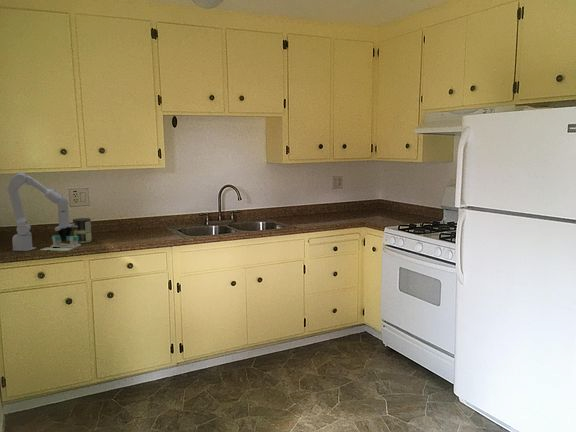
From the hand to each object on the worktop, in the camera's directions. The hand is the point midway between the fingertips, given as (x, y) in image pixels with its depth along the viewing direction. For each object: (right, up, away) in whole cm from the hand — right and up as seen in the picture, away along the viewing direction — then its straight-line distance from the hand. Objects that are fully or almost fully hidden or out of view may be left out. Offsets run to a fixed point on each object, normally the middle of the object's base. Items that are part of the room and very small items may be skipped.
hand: (65, 240), depth 270 cm
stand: (0, -4, 0) cm, 3 cm away
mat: (-1, -5, -8) cm, 9 cm away
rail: (0, +2, 0) cm, 2 cm away
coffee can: (+3, -2, +17) cm, 17 cm away
